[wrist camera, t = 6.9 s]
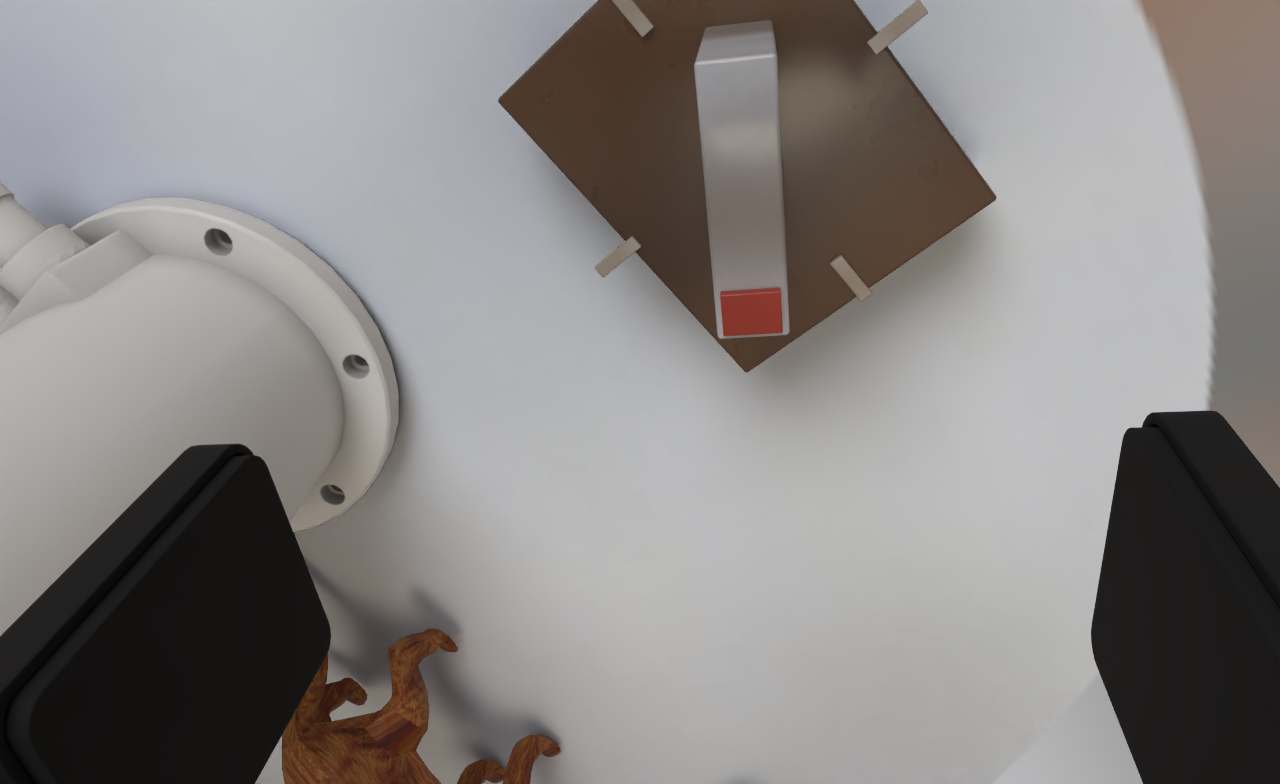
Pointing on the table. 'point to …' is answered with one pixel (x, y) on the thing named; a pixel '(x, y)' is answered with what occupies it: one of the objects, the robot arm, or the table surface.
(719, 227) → the white slab
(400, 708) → the brown toy animal
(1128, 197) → the table surface
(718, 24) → the brown square base
